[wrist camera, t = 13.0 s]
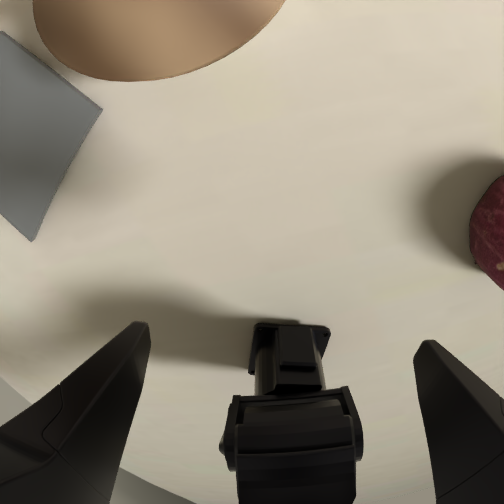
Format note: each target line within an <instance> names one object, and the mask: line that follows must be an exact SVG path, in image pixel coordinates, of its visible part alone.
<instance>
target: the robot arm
mask: <svg viewBox="0 0 504 504" xmlns="http://www.w3.org/2000/svg"><path fill="white" fill-rule="evenodd" d="M259 329H262V330H259ZM323 333H325V334H323ZM330 336H331V332H330V329H329V328H325V327H307V326H291V325H277V324H265V323H258V324H256V325H255V327H254V333H253V339H252V346H251V353H250V359H249V366H248V373H249V374H250V375H255V396H241V395H233V399H232V403H230V406H229V408H228V416H227V421H226V426H225V431H224V433H223V436H222V438H221V441H220V443H219V451H220V452H221V453H222V454H223V455H224V456H225V459H226V461H227V466H228V469H229V471H236V480H237V494H238V499H239V504H352V503H353V501H354V499H355V497H356V462H357V461H360V460H361V459H362V456H363V447H364V446H363V431H362V425H361V421H360V418H359V415H358V412H357V409H356V407H355V404H354V401H353V398H352V396H351V393H350V390H349V388H348V386H343V387H341V388H336V389H328V390H326V385H325V379H324V373H323V367H322V361H321V360H322V357H323V355H324V352H325V349H326V347H327V344H328V341H329V338H330ZM150 348H151V339H150V332H149V326H148V323H146V322H142V321H134V322H132V323H131V324H130V325H129V326H127V327H126V328H125V329H124V330H123V331H121V332H120V333H119V334H118V335H117V336H115V337H114V338H113V339H112V340H110V341H109V342H108V343H107V344H106V345H104V346H103V347H102V348H101V349H100V350H98V351H97V352H96V353H95V354H94V355H92V356H91V357H90V358H89V359H88V360H86V361H85V362H84V363H83V364H82V365H80V366H79V367H78V368H77V369H76V370H75V371H73V372H72V373H71V374H70V375H69V376H67V377H66V378H65V379H64V380H63V381H61V382H60V385H59V384H58V385H57V386H55V387H54V388H53V389H52V390H51V391H50V392H48V393H47V394H46V395H45V396H43V397H42V398H41V399H40V400H38V401H37V402H36V403H34V404H33V405H32V406H30V407H29V408H27V409H26V410H24V411H23V412H21V413H20V414H19V415H17V416H15V417H14V418H12V419H11V420H9V421H8V422H7V423H5V424H4V425H2V426H1V427H0V504H109V503H110V502H109V501H110V498H111V495H112V491H113V487H114V483H115V480H116V476H117V472H118V468H119V465H120V461H121V458H122V454H123V451H124V447H125V444H126V441H127V437H128V434H129V431H130V427H131V424H132V421H133V417H134V414H135V411H136V408H137V405H138V401H139V398H140V395H141V392H142V388H143V383H144V378H145V373H146V368H147V363H148V358H149V353H150ZM413 364H414V371H415V378H416V385H417V392H418V399H419V404H420V409H421V413H422V418H423V423H424V427H425V432H426V438H427V443H428V448H429V454H430V460H431V466H432V473H433V480H434V487H435V495H436V504H504V399H503V398H502V397H500V396H499V395H498V394H497V393H496V392H495V391H494V390H493V389H491V388H490V387H489V386H488V385H487V384H486V383H485V382H483V381H482V380H481V379H480V378H479V377H478V376H477V375H475V374H474V373H473V372H472V371H471V370H470V369H469V368H467V367H466V366H465V365H464V364H463V363H462V362H460V361H459V360H458V359H457V358H456V357H454V356H453V355H452V354H451V353H450V352H449V351H447V350H446V349H445V348H444V347H443V346H441V345H440V344H439V343H438V342H437V341H435V340H424V341H423V342H422V343H421V345H420V347H419V349H418V350H417V352H416V354H415V356H414V359H413Z"/></svg>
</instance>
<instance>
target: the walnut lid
mask: <svg viewBox="0 0 504 504" xmlns="http://www.w3.org/2000/svg"><path fill="white" fill-rule="evenodd" d="M284 2H285V0H33V13H34V19H35V23H36V27H37V30H38V32H39V34H40V37H41V39H42V41H43V42H44V44H45V45H46V47H47V48H48V50H49V51H50V52H51V53H52V54H53V55H54V56H55V57H56V58H57V59H58V60H59V61H60V62H62V63H63V64H65V65H66V66H67V67H69V68H71V69H73V70H75V71H77V72H79V73H81V74H84V75H87V76H90V77H93V78H97V79H102V80H108V81H123V82H134V81H152V80H159V79H165V78H172V77H175V76H179V75H183V74H186V73H190V72H192V71H195V70H198V69H200V68H203V67H206V66H208V65H210V64H212V63H214V62H216V61H218V60H220V59H222V58H224V57H226V56H227V55H229V54H231V53H232V52H234V51H236V50H237V49H239V48H240V47H242V46H243V45H244V44H246V43H247V42H248V41H249V40H251V39H252V38H253V37H255V36H256V35H257V34H258V33H259V32H260V31H261V30H262V29H263V28H264V27H265V26H266V25H267V24H268V23H269V22H270V21H271V20H272V18H273V17H274V16H275V15H276V14H277V12H278V11H279V10H280V8H281V7H282V5H283V3H284Z"/></svg>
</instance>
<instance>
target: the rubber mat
mask: <svg viewBox="0 0 504 504" xmlns="http://www.w3.org/2000/svg"><path fill="white" fill-rule="evenodd" d="M102 110H103V109H102V108H100V107H99V106H98V105H97V104H95V103H94V102H93V101H92V100H90V99H89V98H88V97H87V96H85V95H84V94H83V93H82V92H80V91H79V90H78V89H76V88H75V87H74V86H73V85H71V84H70V83H69V82H68V81H66V80H65V79H64V78H63V77H61V76H60V75H59V74H57V73H56V72H55V71H54V70H52V69H51V68H50V67H49V66H47V65H46V64H45V63H43V62H42V61H41V60H40V59H38V58H37V57H36V56H34V55H33V54H32V53H31V52H29V51H28V50H27V49H25V48H24V47H23V46H21V45H20V44H19V43H18V42H16V41H15V40H14V39H12V38H11V37H10V36H8V35H7V34H6V33H4V32H3V31H0V214H1V215H2V216H3V217H4V218H5V219H6V220H8V221H9V222H10V223H11V224H12V225H13V226H14V227H15V228H16V229H17V230H18V231H19V232H20V233H21V234H23V235H24V236H25V237H26V238H27V239H28V240H29V241H30V242H32V241H33V240H34V239H35V238H36V235H37V233H38V230H39V228H40V226H41V223H42V221H43V219H44V216H45V214H46V212H47V210H48V208H49V205H50V203H51V201H52V199H53V197H54V195H55V193H56V191H57V189H58V187H59V185H60V183H61V181H62V179H63V177H64V175H65V173H66V171H67V169H68V167H69V166H70V164H71V162H72V160H73V158H74V156H75V155H76V153H77V151H78V149H79V148H80V146H81V144H82V143H83V141H84V139H85V137H86V136H87V134H88V133H89V131H90V129H91V128H92V126H93V124H94V123H95V121H96V120H97V118H98V117H99V115H100V114H101V112H102Z"/></svg>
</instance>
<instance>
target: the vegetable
mask: <svg viewBox="0 0 504 504" xmlns="http://www.w3.org/2000/svg"><path fill="white" fill-rule="evenodd" d="M470 249H471V253H472V254H473V257H474V259H475V260H474V261H475V262H474V263H475V264H478V265H479V266H480V268H481V269H482V270H483V271H484V272H485V273H486V274H487V275H488V276H489V277H490V278H491V279H492V280H493V281H494V282H495V283H496V284H497V285H498V286H499V287H500V288H501V289H503V290H504V175H503V176H501V177H500V178H498V179H497V180H496V181H495V182H494V183H493V184H492V185H491V186H490V187H489V189H488V190H487V192H486V193H485V194H484V195H483V197H482V198H481V200H480V201H479V203H478V204H477V206H476V208H475V210H474V212H473V214H472V218H471V219H470Z"/></svg>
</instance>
